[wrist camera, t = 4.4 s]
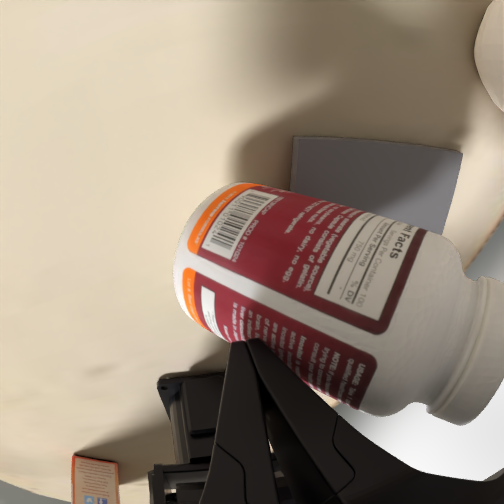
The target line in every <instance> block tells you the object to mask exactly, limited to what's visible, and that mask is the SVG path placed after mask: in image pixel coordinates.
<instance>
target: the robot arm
mask: <svg viewBox="0 0 504 504" xmlns="http://www.w3.org/2000/svg"><path fill="white" fill-rule="evenodd" d="M157 389H158V392H159V395H160V397H161V400H162V402H163V405H164V407H165V409H166V412H167V414H168V417H169V419H170V421H171V426H172V434H173V442H174V450H175V457H176V464H175V465H163V464H154V470H153V471H150V472H148V481H149V491H150V504H504V468H503V469H501V470H500V471H498V472H497V473H495V474H493V475H492V476H490V477H488V478H487V479H485V480H484V481H474V480H466V479H458V478H452V477H446V476H440V475H434V474H429V473H425V472H421V471H419V470H416V469H414V468H412V467H410V466H409V465H407V464H405V463H404V462H402V461H400V460H399V459H397V458H396V457H394V456H393V455H391V454H390V453H388V452H387V451H385V450H384V449H382V448H380V447H379V446H378V445H376V444H374V443H373V442H372V441H370V440H369V439H368V438H366V437H365V436H363V435H362V434H361V433H360V432H358V431H357V430H356V429H355V428H354V427H352V426H351V425H350V424H349V423H348V422H347V421H346V420H345V419H343V418H342V417H341V416H340V415H338V414H337V412H336V411H335V410H334V409H332V408H331V407H330V406H329V405H328V404H327V403H326V402H325V401H324V400H323V399H322V398H321V397H320V396H319V395H317V394H316V393H315V392H314V391H313V390H312V389H311V388H310V387H309V386H308V385H307V384H306V383H305V382H304V381H303V380H302V379H301V378H300V377H299V376H298V375H297V374H295V373H294V372H293V371H292V370H291V369H290V368H289V367H288V366H287V365H286V364H285V363H284V362H283V361H282V360H281V359H280V358H279V357H278V356H277V355H276V354H275V353H274V352H273V351H272V350H271V349H270V348H269V347H268V346H267V345H266V344H265V343H264V342H263V341H262V340H261V339H260V338H252V339H247V340H246V341H244V340H240V341H233V342H231V344H230V349H229V355H228V361H227V367H226V372H222V373H215V374H208V375H200V376H192V377H183V378H174V379H164V380H159V381H158V382H157ZM269 441H270V444H271V446H272V449H273V451H274V452H273V453H271V451H270V445H269ZM171 489H176V493H171Z"/></svg>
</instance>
